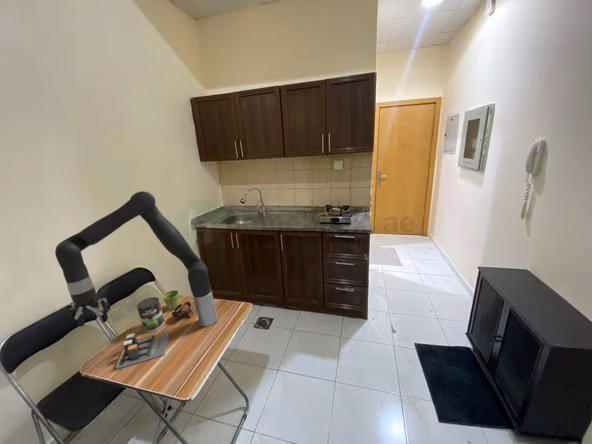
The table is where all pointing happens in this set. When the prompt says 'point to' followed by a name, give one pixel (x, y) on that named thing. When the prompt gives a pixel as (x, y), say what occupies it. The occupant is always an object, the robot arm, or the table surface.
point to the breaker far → (132, 338)
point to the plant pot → (171, 299)
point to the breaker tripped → (133, 351)
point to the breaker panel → (145, 350)
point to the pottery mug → (182, 307)
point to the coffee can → (150, 314)
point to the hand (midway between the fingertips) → (94, 323)
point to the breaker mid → (127, 345)
